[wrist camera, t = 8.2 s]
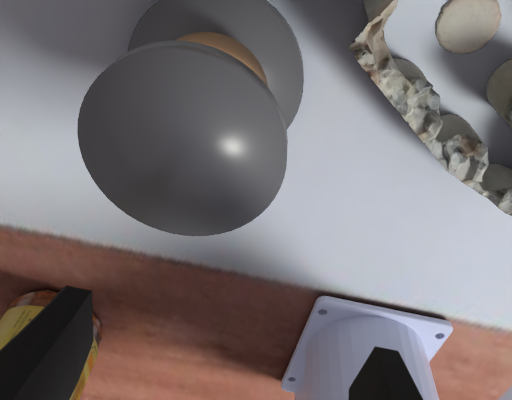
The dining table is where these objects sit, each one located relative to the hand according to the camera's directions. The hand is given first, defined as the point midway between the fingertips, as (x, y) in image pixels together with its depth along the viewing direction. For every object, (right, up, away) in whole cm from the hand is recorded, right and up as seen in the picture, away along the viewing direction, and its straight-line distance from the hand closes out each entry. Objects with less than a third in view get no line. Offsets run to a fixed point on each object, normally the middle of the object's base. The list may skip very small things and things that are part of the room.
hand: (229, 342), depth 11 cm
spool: (-1, +9, +7) cm, 11 cm away
